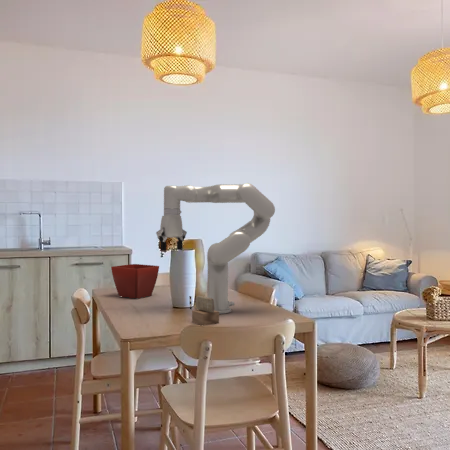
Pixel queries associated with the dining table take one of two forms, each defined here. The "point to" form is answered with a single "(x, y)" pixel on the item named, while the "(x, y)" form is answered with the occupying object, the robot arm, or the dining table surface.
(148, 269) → the plant pot
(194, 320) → the tan box
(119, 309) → the dining table surface
